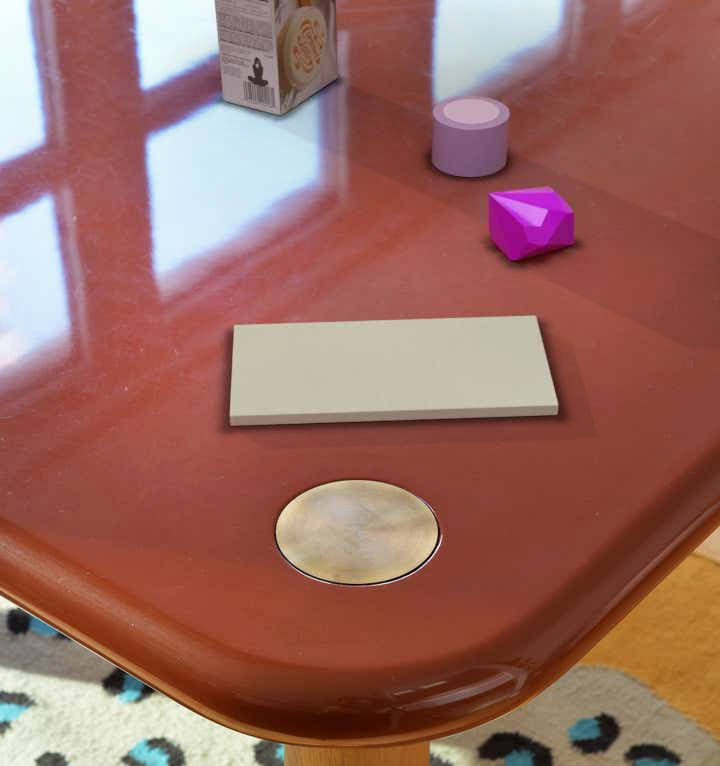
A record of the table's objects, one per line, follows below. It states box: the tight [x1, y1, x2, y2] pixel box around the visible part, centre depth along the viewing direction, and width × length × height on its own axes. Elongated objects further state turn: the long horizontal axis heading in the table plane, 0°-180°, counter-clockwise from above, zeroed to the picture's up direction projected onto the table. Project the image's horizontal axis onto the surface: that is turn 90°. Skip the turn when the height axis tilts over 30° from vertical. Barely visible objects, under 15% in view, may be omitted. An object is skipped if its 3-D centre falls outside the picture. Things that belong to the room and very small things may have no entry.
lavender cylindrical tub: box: [430, 95, 511, 178], centre depth 107 cm, size 6×6×4 cm
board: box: [229, 315, 559, 427], centre depth 86 cm, size 20×10×1 cm, turn 92°
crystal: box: [488, 186, 575, 261], centre depth 97 cm, size 5×5×5 cm
